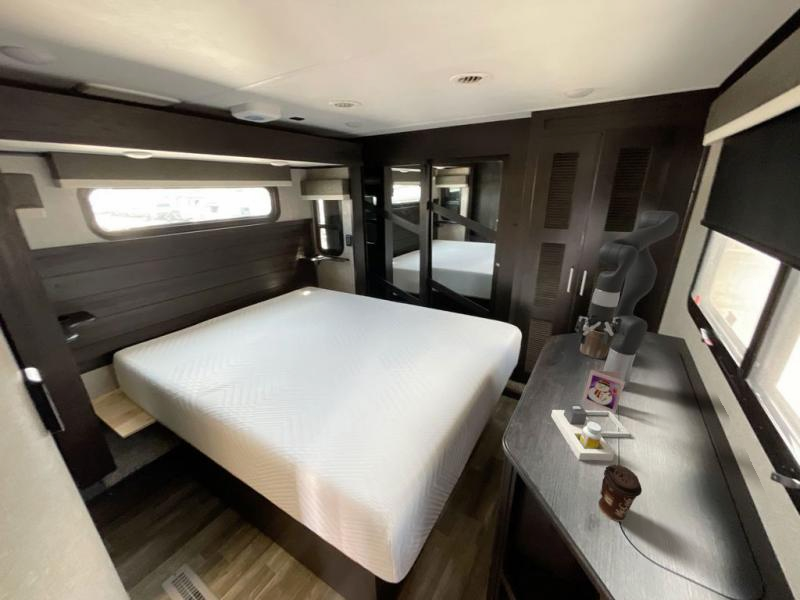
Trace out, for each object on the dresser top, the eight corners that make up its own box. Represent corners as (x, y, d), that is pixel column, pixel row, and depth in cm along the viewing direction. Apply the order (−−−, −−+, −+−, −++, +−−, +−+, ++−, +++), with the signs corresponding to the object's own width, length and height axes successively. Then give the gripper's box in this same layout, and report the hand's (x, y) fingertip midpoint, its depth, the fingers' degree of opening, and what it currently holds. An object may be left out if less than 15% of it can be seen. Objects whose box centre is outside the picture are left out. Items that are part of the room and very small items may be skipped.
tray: (608, 413, 119) (609, 410, 118) (628, 437, 108) (630, 433, 107) (578, 413, 119) (579, 410, 118) (596, 436, 108) (597, 433, 108)
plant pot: (618, 361, 154) (626, 333, 148) (586, 361, 154) (593, 333, 148) (598, 345, 169) (606, 319, 163) (569, 345, 169) (576, 319, 163)
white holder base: (579, 416, 117) (584, 398, 114) (612, 460, 99) (619, 440, 96) (551, 416, 117) (555, 398, 114) (578, 459, 99) (584, 439, 96)
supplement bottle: (574, 444, 105) (581, 423, 101) (584, 439, 107) (591, 417, 103) (590, 456, 100) (597, 434, 97) (600, 450, 102) (607, 428, 99)
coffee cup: (586, 495, 88) (597, 462, 83) (613, 493, 88) (625, 460, 84) (608, 526, 80) (621, 492, 75) (637, 524, 80) (652, 489, 76)
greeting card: (581, 401, 126) (590, 370, 120) (586, 392, 131) (594, 363, 125) (614, 414, 118) (624, 382, 113) (617, 405, 124) (628, 374, 118)
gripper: (618, 298, 108) (606, 338, 114) (577, 297, 108) (568, 338, 114) (632, 306, 101) (619, 348, 107) (589, 305, 101) (579, 348, 107)
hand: (593, 343), depth 110 cm, fingers open, 8 cm apart
